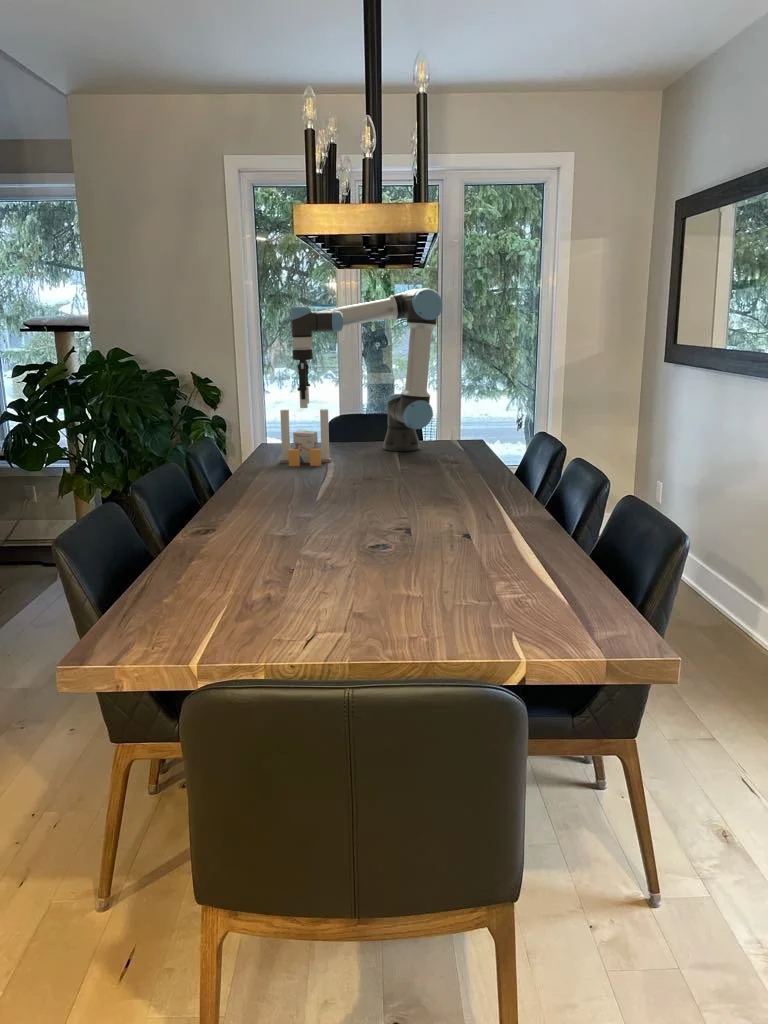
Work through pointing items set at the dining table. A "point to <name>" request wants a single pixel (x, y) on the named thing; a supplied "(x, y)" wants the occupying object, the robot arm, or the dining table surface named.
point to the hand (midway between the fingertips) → (304, 405)
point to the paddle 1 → (294, 457)
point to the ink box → (305, 443)
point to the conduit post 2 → (324, 435)
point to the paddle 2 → (315, 457)
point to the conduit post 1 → (285, 435)
